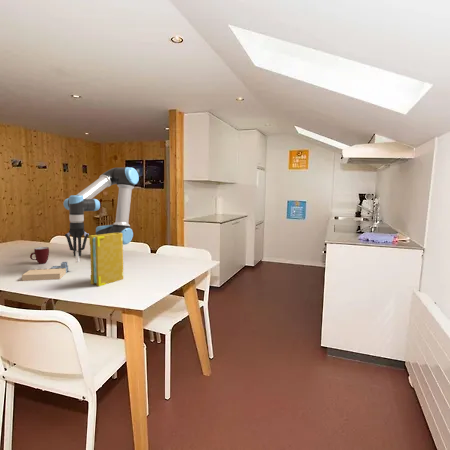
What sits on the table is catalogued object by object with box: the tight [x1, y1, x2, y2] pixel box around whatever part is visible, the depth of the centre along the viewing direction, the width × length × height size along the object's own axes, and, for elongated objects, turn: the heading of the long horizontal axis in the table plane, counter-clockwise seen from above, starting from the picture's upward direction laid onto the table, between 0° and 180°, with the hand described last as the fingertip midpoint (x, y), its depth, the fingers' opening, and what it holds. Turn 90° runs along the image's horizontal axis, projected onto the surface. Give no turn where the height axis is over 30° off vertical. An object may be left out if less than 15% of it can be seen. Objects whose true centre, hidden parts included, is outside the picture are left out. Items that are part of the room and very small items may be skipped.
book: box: [88, 233, 124, 287], centre depth 161 cm, size 17×7×25 cm, turn 148°
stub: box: [49, 261, 69, 273], centre depth 178 cm, size 8×5×5 cm
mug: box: [29, 246, 50, 265], centre depth 198 cm, size 11×8×10 cm
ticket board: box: [21, 268, 67, 282], centre depth 168 cm, size 18×12×3 cm, turn 104°
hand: (77, 261), depth 180 cm, fingers closed
